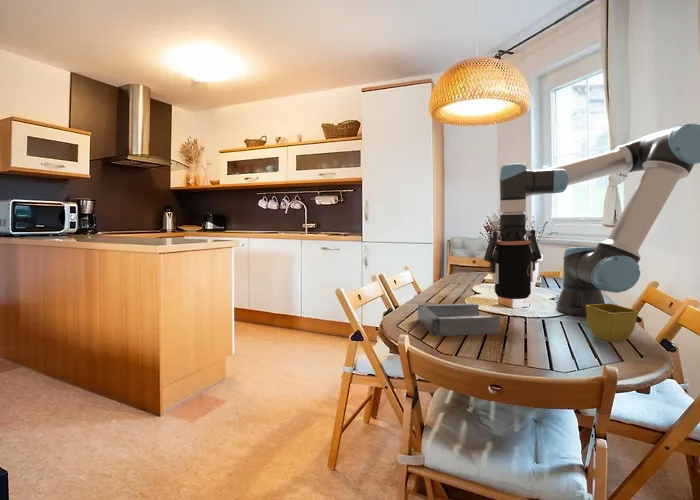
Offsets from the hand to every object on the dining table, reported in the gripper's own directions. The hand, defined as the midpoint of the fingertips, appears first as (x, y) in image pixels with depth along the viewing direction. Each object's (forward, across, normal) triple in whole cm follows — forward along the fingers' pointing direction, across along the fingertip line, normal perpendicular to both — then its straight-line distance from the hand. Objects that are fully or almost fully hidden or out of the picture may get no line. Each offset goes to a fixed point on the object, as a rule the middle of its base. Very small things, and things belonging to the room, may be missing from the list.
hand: (512, 282), depth 119 cm
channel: (+13, +20, +3) cm, 24 cm away
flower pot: (+14, -18, +19) cm, 30 cm away
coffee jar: (+5, 0, 0) cm, 5 cm away
